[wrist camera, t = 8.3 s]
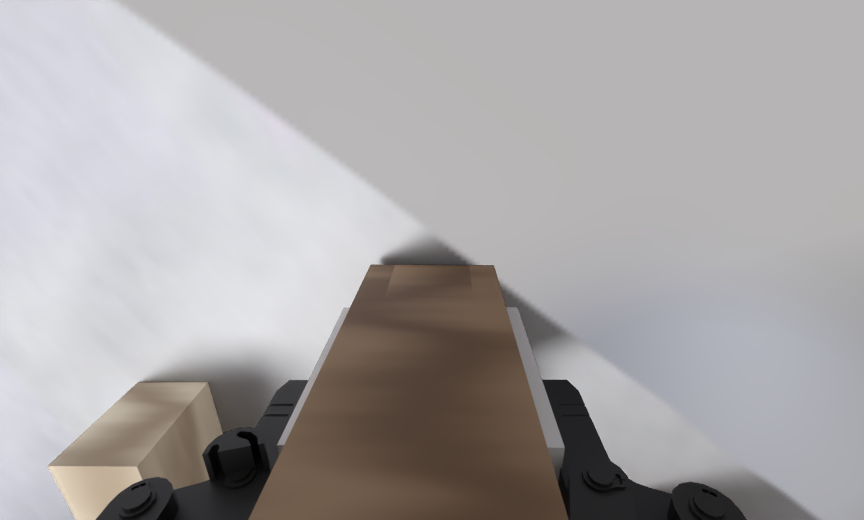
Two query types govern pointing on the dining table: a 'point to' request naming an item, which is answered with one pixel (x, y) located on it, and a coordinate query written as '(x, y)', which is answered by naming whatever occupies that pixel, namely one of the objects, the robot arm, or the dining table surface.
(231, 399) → the dining table surface
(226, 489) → the robot arm
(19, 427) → the dining table surface
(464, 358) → the crook
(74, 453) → the beech stick
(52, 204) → the dining table surface
